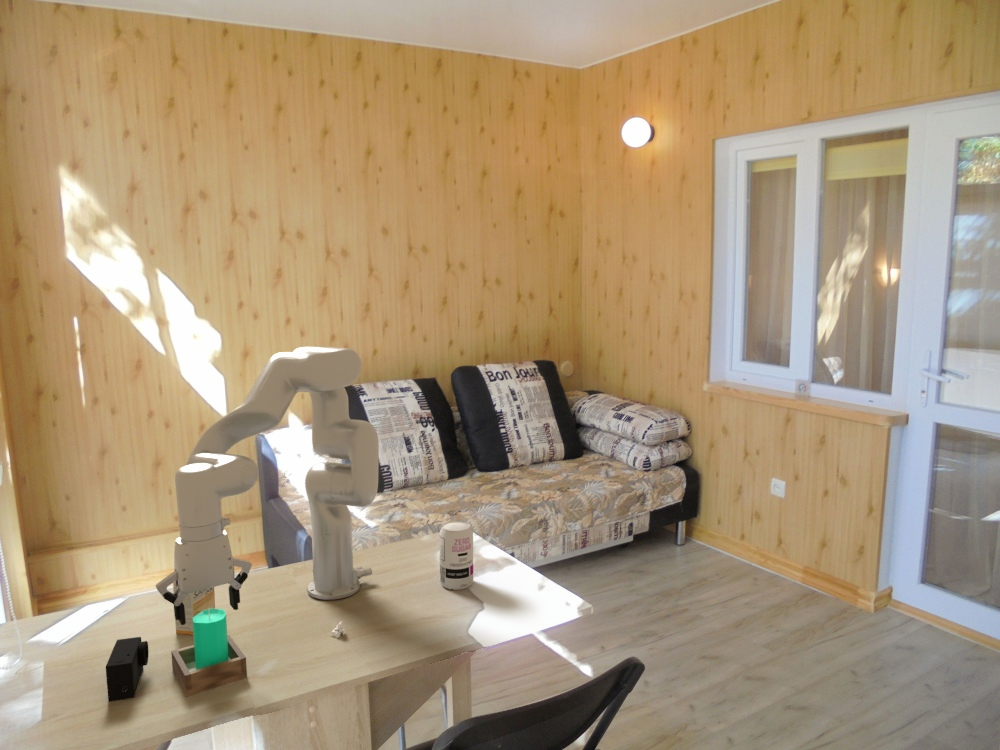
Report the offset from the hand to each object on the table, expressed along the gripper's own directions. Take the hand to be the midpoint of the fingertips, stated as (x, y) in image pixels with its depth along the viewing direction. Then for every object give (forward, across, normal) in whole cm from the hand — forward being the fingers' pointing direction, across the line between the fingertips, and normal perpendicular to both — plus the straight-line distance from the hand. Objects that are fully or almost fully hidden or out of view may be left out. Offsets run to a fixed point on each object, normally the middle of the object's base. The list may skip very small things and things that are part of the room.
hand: (208, 614), depth 142 cm
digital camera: (+12, +14, -4) cm, 19 cm away
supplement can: (+14, -60, -6) cm, 62 cm away
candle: (+11, 0, 0) cm, 11 cm away
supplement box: (+12, -2, -22) cm, 25 cm away
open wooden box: (+12, +1, 0) cm, 12 cm away
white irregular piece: (+13, -25, -1) cm, 28 cm away
